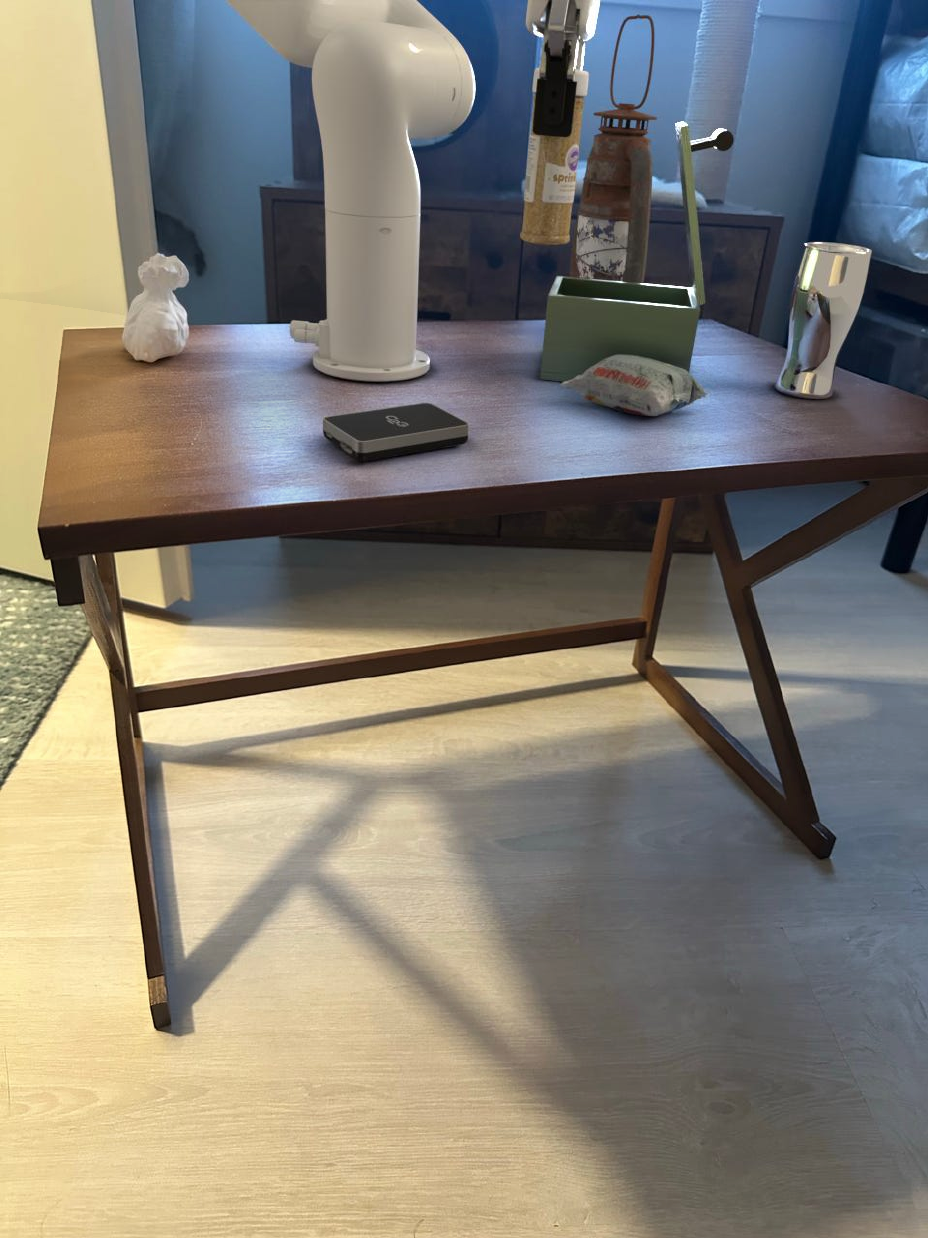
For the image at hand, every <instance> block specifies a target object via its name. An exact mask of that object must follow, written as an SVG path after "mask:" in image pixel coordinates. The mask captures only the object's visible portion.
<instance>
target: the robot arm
mask: <svg viewBox="0 0 928 1238" xmlns="http://www.w3.org/2000/svg"><path fill="white" fill-rule="evenodd" d="M225 1H226V3H227V4H228V5H229V6H230V7H231V8H232V9H233V10H234V11H235V12H236V13H237V14H238V15H239V16H240V17H241V18H242V19H243V20H244V21H245V22H246V23H247V24H248V25H249V26H251V28H252V29H253V30H254V31H255V32H256V33H257V34H258V35H259V36H260V37H261V38H262V39H263V40H264V41H265V42H266V43H267V44H268V45H269V46H270V47H271V48H272V49H273V50H274V52H276V53H277V54H278V55H279V56H280V57H282V58H283V59H284V60H286V61H288V62H290V63H292V64H293V65H297V66H299V67H305V68H310V69H311V87H312V97H313V102H314V109H315V114H316V119H317V124H318V128H319V129H318V131H319V134H320V141H321V150H322V163H323V182H324V185H323V187H324V216H325V219H324V220H325V221H324V222H325V277H326V278H325V280H326V281H325V283H326V284H325V285H326V288H325V289H326V319H324V320H322V319H321V320H319V322H318V323H314V322H309V321H306V320H305V321H304V320H295V319H293V320H291V321H290V326H289V336H290V338H291V339H293V341H294V342H295V343H300V344H301V343H302V344H315V346H316V347H317V348H318V349H316V350H315V351H314V353H313V354H312V365H313V367H314V368H315V369H316V370H317V371H319V372H321V373H323V374H325V375H328V376H331V377H334V378H340V379H342V380H343V379H344V380H350V381H357V382H358V381H359V382H375V383H376V382H377V383H381V382H383V383H384V382H398V381H399V382H400V381H407V380H411V379H416V378H418V377H421V376H423V375H425V374H426V373H428V371H429V370H430V367H431V359H430V357H429V356H428V354H427V353H425V352H423V351H422V350H419V349H417V331H418V328H417V327H418V303H419V302H418V301H419V300H418V299H419V273H420V272H419V267H420V242H421V241H420V240H421V239H420V238H421V237H420V236H421V235H420V234H421V182H420V176H419V170H418V166H417V163H416V159H415V155H414V152H413V150H412V149H413V148H412V146H411V143H410V139H434V138H440V137H443V136H446V135H449V134H451V133H453V132H455V131H456V130H457V129H458V128H459V127H460V126H462V125H463V124H464V122H466V120H467V118H468V117H469V116H470V113H471V111H472V108H473V105H474V101H475V96H476V80H475V73H474V69H473V66H472V62H471V59H470V58H469V56H468V54H467V52H466V50H465V48H464V46H462V43H460V42H459V39H458V38H457V37H456V36H454V35H453V33H451V31H450V30H448V28H447V27H445V25H443V24H442V23H441V22H440V21H439V20H438V19H437V18H436V17H435V16H434V15H433V14H432V13H431V12H430V11H428V10H427V8H425V7H424V5H422V4H421V3H420V2H419V1H418V0H225ZM600 4H601V0H527V8H526V16H525V27H526V29H527V30H528V32H530V34H532V35H533V36H536V37H538V38H542V47H541V55H540V63H539V67H540V71H539V78H540V79H537V87H536V98H535V108H534V119H533V133H534V134H535V135H544V136H556V137H569V136H570V135H571V133H572V125H573V116H574V107H575V98H576V89H577V82H575V81H574V76H575V69H579V70H582V71H583V66H584V56H585V46H586V41H588V40H590V39H591V38H592V37H594V35H595V31H596V26H597V19H598V16H599V15H598V14H599V9H600Z"/></svg>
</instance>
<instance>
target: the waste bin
mask: <svg viewBox="0 0 928 1238" xmlns="http://www.w3.org/2000/svg"><path fill="white" fill-rule="evenodd" d="M545 312H546V313H545V323H544V332H543V341H542V342H543V343H542V352H541V361H540V373H539V380H541V381H551V382H552V381H553V382H562V383H563V382H564V381H569V380H572V379H574V378H575V377H577V376H578V375H582V374H583V373H584V372H585V371H586V370H588V369H589V368H590V367H592V366H594V365H595V364H597V363H599V362H600V361H602V360H603V359H606V358H609V357H611V356H614V355H617V354H623V355H634V356H640V357H645V358H650V359H654V360H657V361H660V362H663V363H667V364H670V365H673V366H676V367H679V368H682V369H685V370H686V371H687V372H688V373H689V374H690V369H691V364H692V363H691V362H692V358H693V353H694V348H695V342H696V335H697V331H698V324H699V321H700V313H701V308H700V305H697V302H696V299H695V296H694V292H693V289H692V287H686V286H675V285H665V284H664V285H663V284H653V283H632V282H620V281H609V280H598V279H587V278H576V277H570V276H565V275H564V276H563V275H556V276H555V278H554V281H553V283H552V286H551V288H550V290H549V292H548V295H547V302H546V311H545Z"/></svg>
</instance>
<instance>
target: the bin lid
mask: <svg viewBox="0 0 928 1238" xmlns="http://www.w3.org/2000/svg"><path fill="white" fill-rule="evenodd" d="M675 133H676V134H675V135H676V144H677V145H676V146H677V156H678V164H679V176H680V185H681V186H680V187H681V195H682V206H683V215H684V227H685V237H686V246H687V247H686V248H687V256H688V257H687V258H688V268H689V277H690V278H689V279H690V286H691V288H692V289H693V292H694V296H695V299H696V302H697V305H699V306H701V305H705V304H706V295H705V285H704V276H703V275H704V274H703V263H702V254H701V243H700V241H701V240H700V232H699V231H700V230H699V221H698V210H697V199H696V198H697V197H696V188H695V175H694V166H693V155H692V154H693V152H694V153H695V152H698V151H704V150H707V149H712V148H714V149H716V150H718V151H720V152H727V151H729V150H730V149H731V148H732V146H733V145H734V141H735V137H734V135H733V133H732V132H731V131H729V130H727V129H725V128H718V129H716V130H715V131H713V133H712V135H711V136H710V137H706V138H700V139H696V140H691V133H690V125H689V124H687V123H686V122H685V121H680V122H677V123H675Z"/></svg>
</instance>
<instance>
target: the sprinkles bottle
mask: <svg viewBox="0 0 928 1238" xmlns="http://www.w3.org/2000/svg"><path fill="white" fill-rule="evenodd" d="M539 71H540V66H539V67H538V66H537V67H536V68H535V69H534V71H533V80H532V89H531V90H532V93H533V94H534V95H532V99H533V102H532V103H533V104H532V115H531V125H530V134H529V137H528V147H527V148H528V150H527V159H526V160H527V161H526V171H525V180H524V181H525V182H524V192H523V193H524V194H523V201H524V205H523V206H524V207H523V216H522V225H521V226H522V227H521V231H520V233H519V238H520V239H521V240H522V241H523V242H526V243H529V244H534V245H539V246H541V245H542V246H561V245H566V244H568V243H570V240H571V236H570V229H571V221H572V219H571V218H572V211H573V204H574V200H575V193H576V182H577V175H578V163H579V156H580V141H581V130H582V120H583V112H584V103H585V101H586V100H585V99H584V98H585V97H587V96H588V90H589V89H588V88H589V79H590V73H589V72H588V71H586V70H583V69H582V70H579V69H575V76H574V81H575V82H577V89H576V98H575V107H574V116H573V125H572V133H571V135H570V136H569V137H556V136H544V135H535V134H534V133H533V119H534V108H535V98H536V87H537V79H540V78H539Z"/></svg>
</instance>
